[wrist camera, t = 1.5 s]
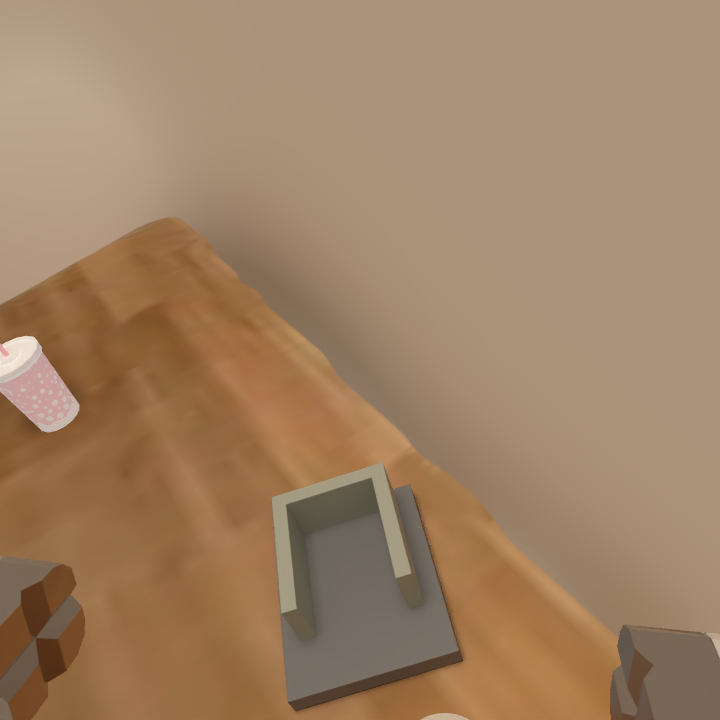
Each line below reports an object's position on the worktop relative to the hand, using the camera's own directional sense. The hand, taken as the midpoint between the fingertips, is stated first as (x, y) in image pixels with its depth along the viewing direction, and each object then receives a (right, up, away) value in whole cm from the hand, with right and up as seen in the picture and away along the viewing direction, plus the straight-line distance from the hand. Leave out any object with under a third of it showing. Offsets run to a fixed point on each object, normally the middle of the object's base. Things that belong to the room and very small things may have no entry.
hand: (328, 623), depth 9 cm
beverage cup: (-32, -2, +60) cm, 68 cm away
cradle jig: (+1, -12, +35) cm, 38 cm away
